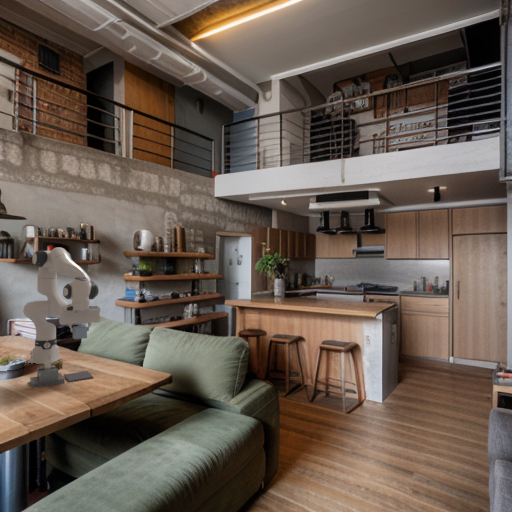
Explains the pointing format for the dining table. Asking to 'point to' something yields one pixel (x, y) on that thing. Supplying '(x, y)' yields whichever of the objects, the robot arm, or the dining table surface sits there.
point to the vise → (47, 375)
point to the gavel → (56, 364)
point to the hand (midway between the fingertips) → (79, 331)
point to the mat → (78, 376)
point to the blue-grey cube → (80, 332)
